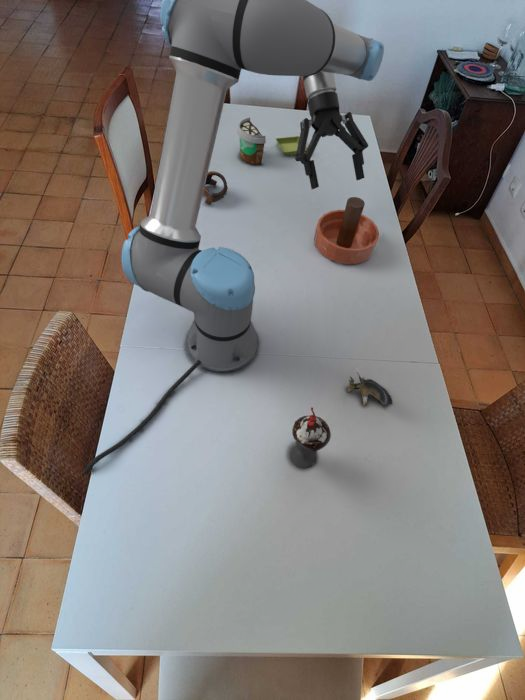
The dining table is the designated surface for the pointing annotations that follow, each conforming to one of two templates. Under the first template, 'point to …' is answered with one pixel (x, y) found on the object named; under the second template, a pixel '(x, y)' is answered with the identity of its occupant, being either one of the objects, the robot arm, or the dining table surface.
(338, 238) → the pestle
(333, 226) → the bowl
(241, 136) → the food container
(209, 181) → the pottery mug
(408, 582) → the dining table surface
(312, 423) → the sundae
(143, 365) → the dining table surface
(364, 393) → the animal figurine
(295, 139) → the saucer
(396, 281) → the dining table surface
